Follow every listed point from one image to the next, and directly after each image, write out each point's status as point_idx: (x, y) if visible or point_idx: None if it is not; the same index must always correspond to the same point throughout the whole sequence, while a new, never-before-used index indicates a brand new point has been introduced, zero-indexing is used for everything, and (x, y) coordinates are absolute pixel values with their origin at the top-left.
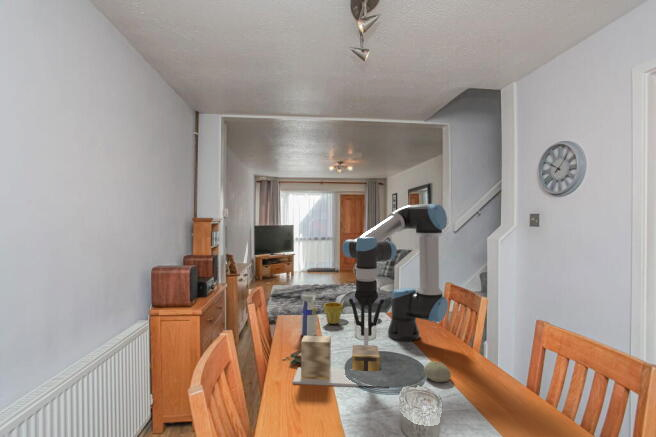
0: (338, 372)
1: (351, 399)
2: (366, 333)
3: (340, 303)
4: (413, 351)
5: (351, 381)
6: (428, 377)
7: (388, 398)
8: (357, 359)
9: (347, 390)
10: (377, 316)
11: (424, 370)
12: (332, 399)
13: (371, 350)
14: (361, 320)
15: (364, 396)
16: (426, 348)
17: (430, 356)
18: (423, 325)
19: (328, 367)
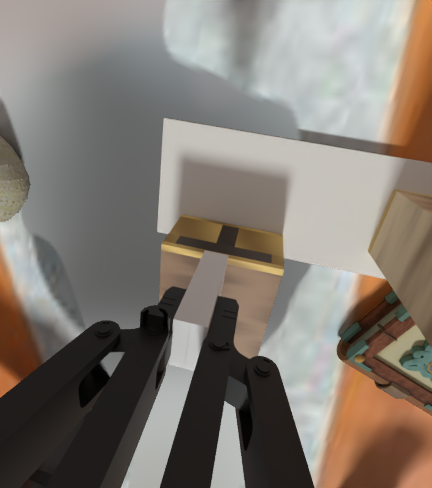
0: (336, 241)
1: (339, 24)
2: (199, 294)
3: None
4: (59, 347)
5: (304, 163)
6: (18, 158)
7: (182, 29)
8: (261, 254)
9: (334, 108)
10: (30, 387)
11: (18, 183)
12: (428, 26)
13: None
14: (222, 387)
15: (276, 50)
16: (22, 356)
17: (14, 311)
18: None
19: (419, 205)
